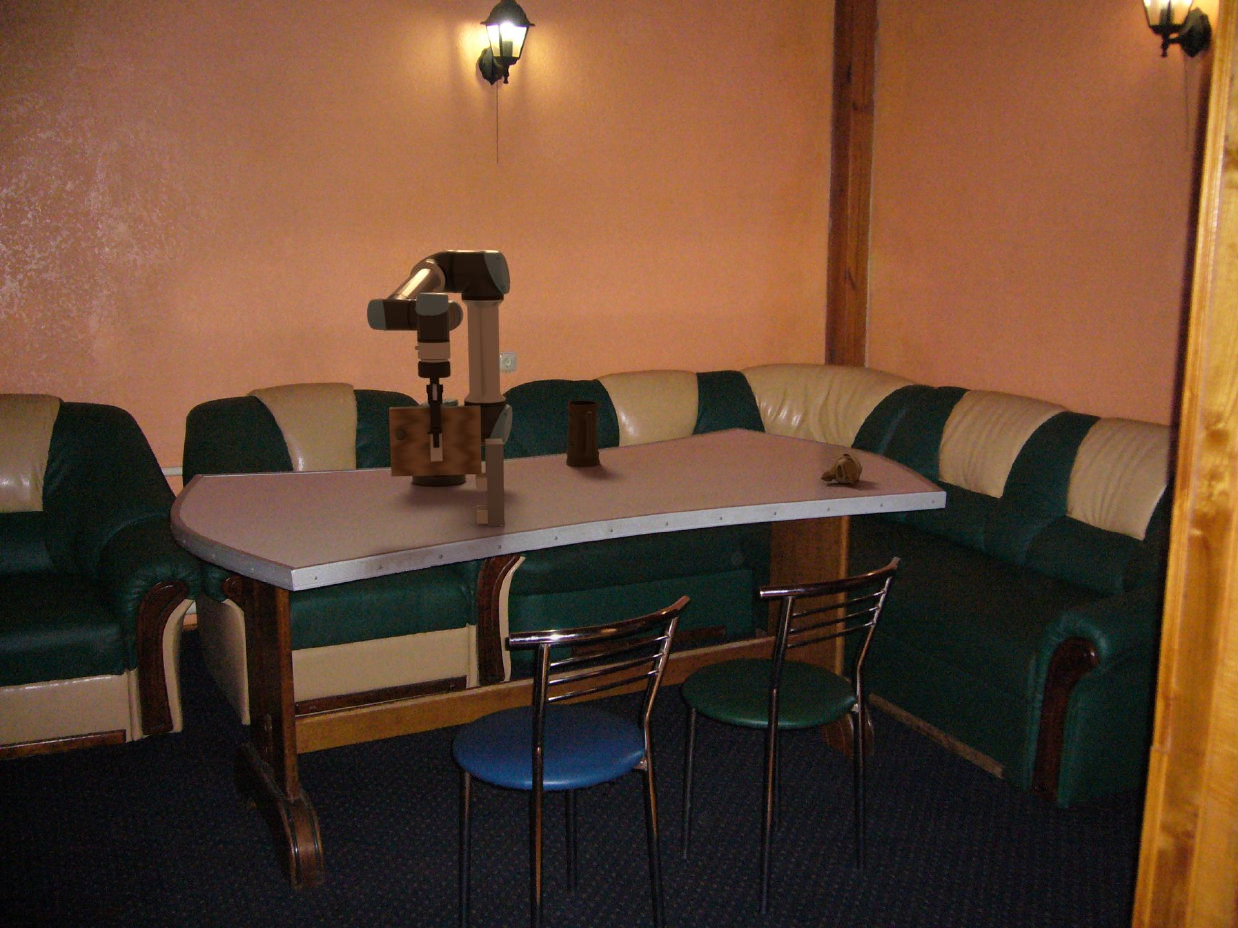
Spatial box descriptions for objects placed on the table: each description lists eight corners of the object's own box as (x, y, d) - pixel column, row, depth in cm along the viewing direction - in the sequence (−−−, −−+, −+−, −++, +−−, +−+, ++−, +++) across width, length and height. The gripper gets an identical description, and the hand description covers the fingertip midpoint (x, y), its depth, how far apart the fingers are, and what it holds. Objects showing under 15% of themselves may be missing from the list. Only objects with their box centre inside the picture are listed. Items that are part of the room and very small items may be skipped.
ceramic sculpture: (871, 450, 310) (855, 461, 297) (870, 478, 312) (855, 491, 299) (835, 446, 315) (818, 458, 302) (834, 475, 317) (818, 487, 304)
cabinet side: (477, 527, 255) (475, 445, 251) (476, 519, 263) (474, 439, 259) (504, 526, 256) (503, 444, 252) (502, 518, 264) (501, 438, 260)
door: (391, 477, 249) (388, 409, 246) (391, 473, 254) (389, 407, 250) (481, 475, 253) (480, 408, 250) (481, 471, 257) (479, 405, 254)
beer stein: (560, 461, 335) (561, 399, 330) (590, 458, 339) (592, 398, 334) (578, 473, 322) (580, 409, 317) (610, 470, 326) (612, 407, 321)
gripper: (418, 356, 256) (421, 453, 260) (416, 364, 240) (420, 466, 245) (449, 356, 257) (452, 452, 262) (450, 363, 241) (453, 465, 246)
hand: (436, 459), depth 253 cm, fingers closed on door, 3 cm apart
